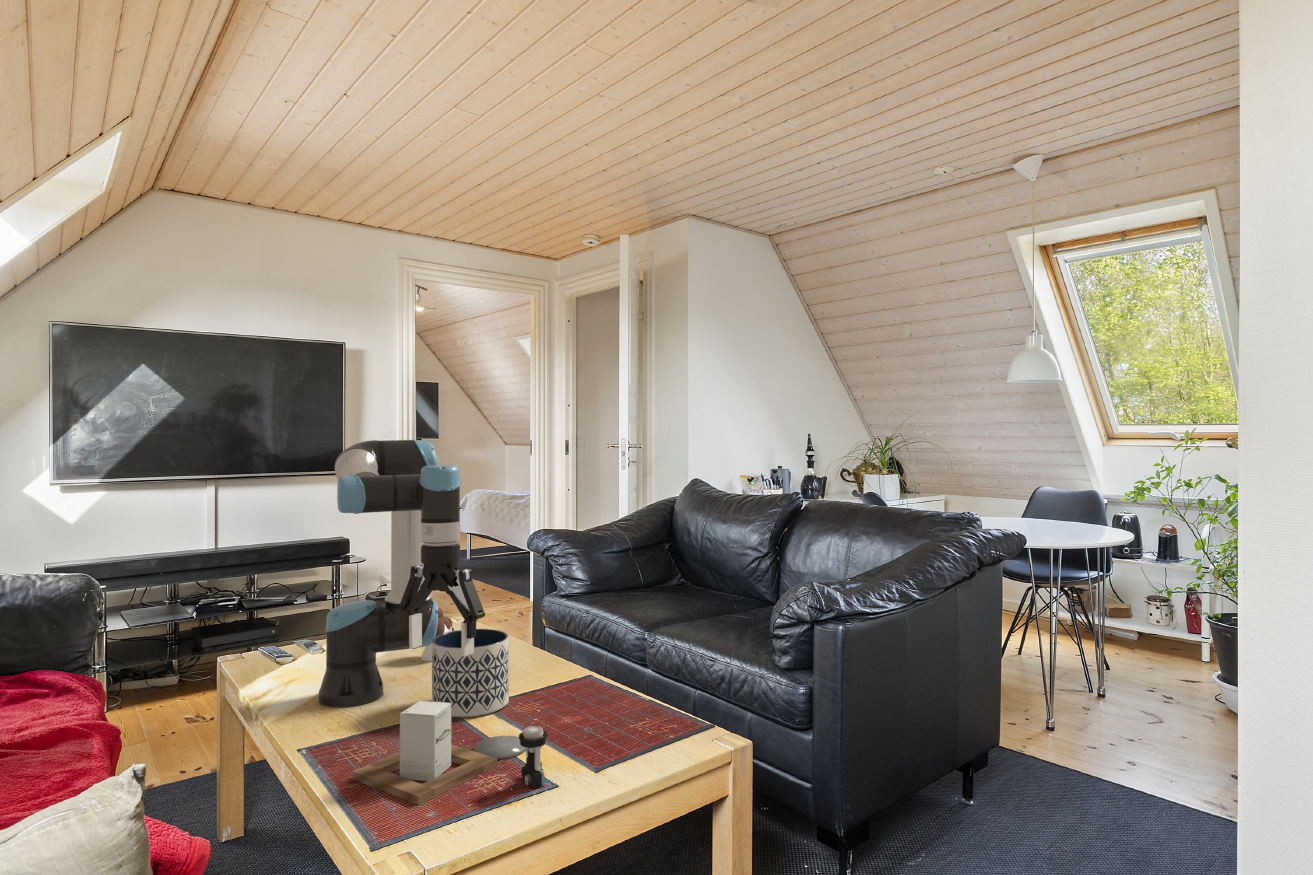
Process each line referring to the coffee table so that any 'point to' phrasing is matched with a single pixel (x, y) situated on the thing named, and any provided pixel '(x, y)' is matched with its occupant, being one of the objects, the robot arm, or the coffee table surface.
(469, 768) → the board
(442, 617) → the figurine
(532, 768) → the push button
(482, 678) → the planter
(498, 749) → the coaster
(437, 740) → the supplement box
